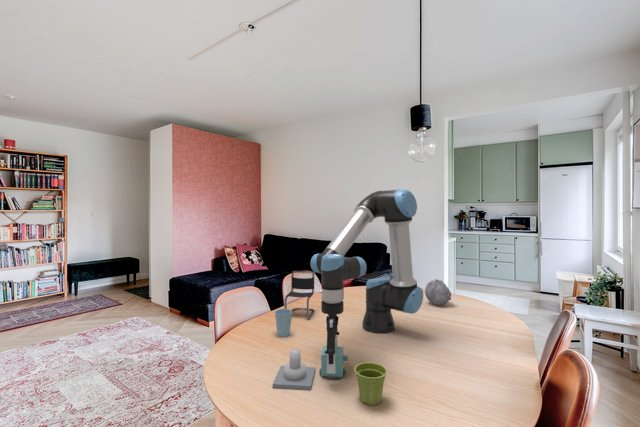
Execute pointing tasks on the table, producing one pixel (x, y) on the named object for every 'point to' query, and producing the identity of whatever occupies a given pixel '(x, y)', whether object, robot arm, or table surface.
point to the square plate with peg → (294, 374)
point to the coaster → (332, 376)
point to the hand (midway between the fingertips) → (332, 363)
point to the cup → (283, 322)
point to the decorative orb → (437, 292)
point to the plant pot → (370, 381)
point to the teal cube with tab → (338, 362)
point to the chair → (302, 284)
